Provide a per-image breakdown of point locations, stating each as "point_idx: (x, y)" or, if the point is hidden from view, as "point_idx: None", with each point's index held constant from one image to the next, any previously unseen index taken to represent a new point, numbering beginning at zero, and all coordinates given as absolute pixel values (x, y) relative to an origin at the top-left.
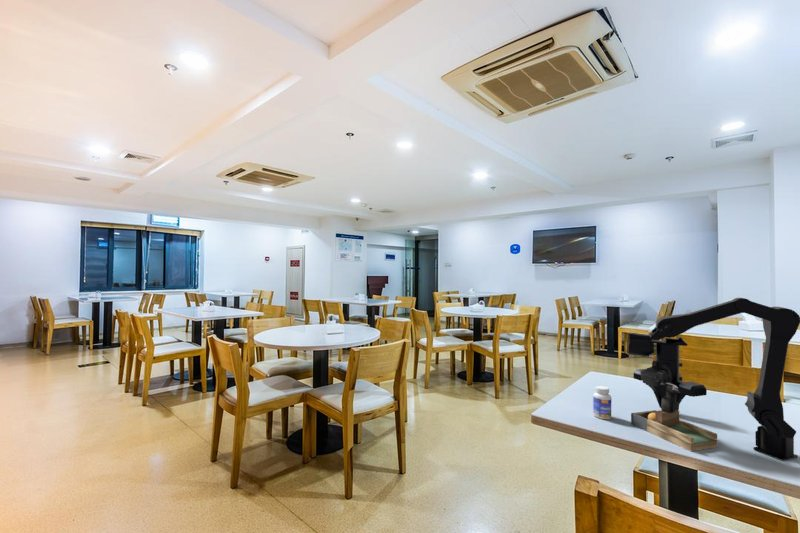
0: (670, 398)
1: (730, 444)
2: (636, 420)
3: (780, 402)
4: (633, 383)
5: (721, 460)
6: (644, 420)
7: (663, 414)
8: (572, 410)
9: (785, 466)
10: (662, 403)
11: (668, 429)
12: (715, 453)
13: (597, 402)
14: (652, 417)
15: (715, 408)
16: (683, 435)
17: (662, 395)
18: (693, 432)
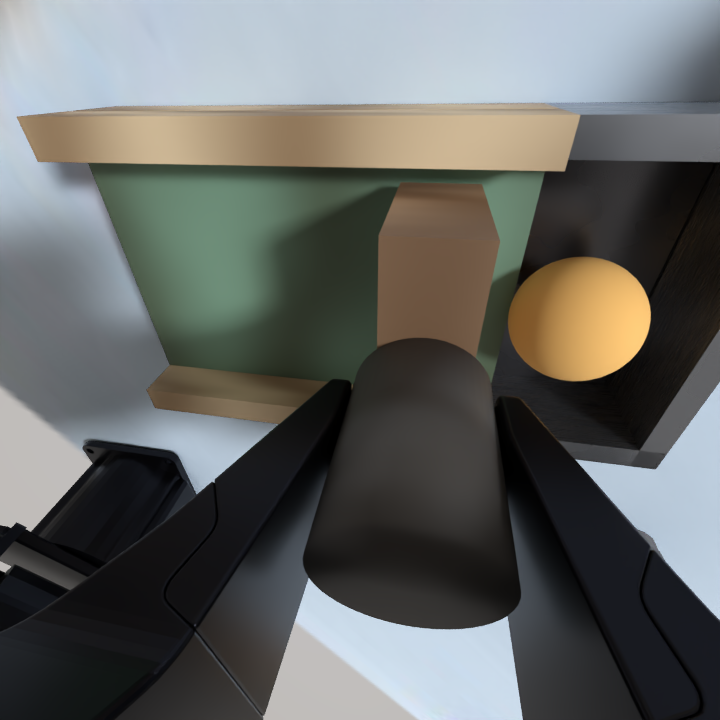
0: (229, 556)
1: (228, 432)
2: None
3: None
4: None
5: (16, 192)
6: (615, 110)
7: (380, 264)
8: None
9: (43, 406)
10: (449, 428)
11: (260, 116)
12: (114, 260)
13: None
14: (578, 282)
15: (514, 663)
16: (92, 116)
17: (536, 629)
18: (285, 364)
